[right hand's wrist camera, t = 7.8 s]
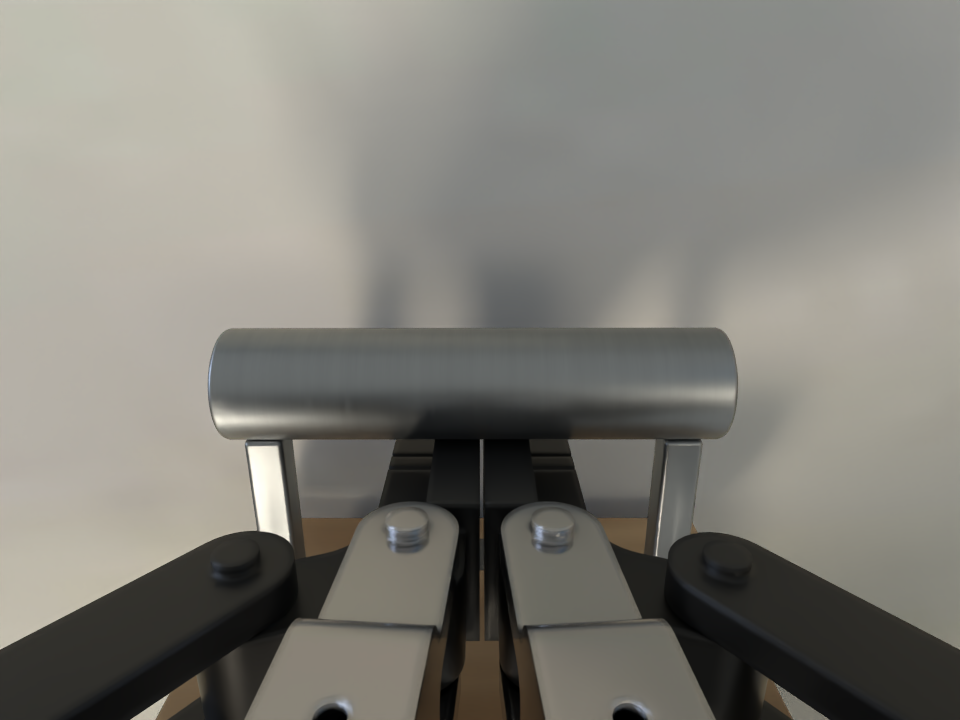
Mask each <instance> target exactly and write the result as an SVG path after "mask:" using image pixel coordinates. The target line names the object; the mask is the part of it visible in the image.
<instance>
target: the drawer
mask: <svg viewBox="0 0 960 720" xmlns="http://www.w3.org/2000/svg"><path fill="white" fill-rule="evenodd" d="M737 396H738V374H737V366H736V359H735V355H734V351H733V348H732V345H731V342H730V340H729V338H728V336H727V335H726V334H725V333H724V332H723V331H722V330H720V329H718V328H231V329H228V330H226V331H224V332H223V333H222V334H221V335H220V336H219V338H218V339H217V341H216V343H215V346H214V348H213V351H212V355H211V359H210V365H209V373H208V399H209V407H210V412H211V416H212V420H213V422H214V425H215V427H216V429H217V431H218V432H219V433H220V434H221V435H222V436H223V437H225V438H227V439H230V440H246V443H245V448H246V455H247V462H248V469H249V476H250V483H251V490H252V497H253V504H254V510H255V517H256V524H257V531H263V532H270V533H274V534H277V535H279V536H281V537H283V538H285V539H286V540H287V541H289V543H290V544H291V545H292V547H293V549H294V554H295V559H300V558H305V557H310V556H315V555H319V554H324V553H328V552H332V551H335V550H338V549H341V548H343V547H346V546H348V545H349V544H350V542H351V540H352V537H353V535H354V533H355V530H356V528H357V526H358V524H359V523H360V521H361V520H362V519H363V518H301V510H300V501H299V493H298V484H297V476H296V467H295V458H294V450H293V441H292V439H656V442H655V451H654V461H653V470H652V480H651V490H650V499H649V509H648V518H597V519H598V520H599V521H600V523H601V524H602V526H603V528H604V530H605V533H606V535H607V537H608V540H609V541H610V542H612V543H613V544H615V545H618V546H620V547H622V548H625V549H627V550H630V551H634V552H638V553H642V554H647V555H651V556H656V557H661V558H666V559H668V552H669V550H670V547H671V546H672V545H673V543H674V542H676V541H677V540H678V539H680V538H682V537H684V536H687V535H690V534H695V533H697V531H696V529H695V527H694V525H693V523H692V520H693V513H694V505H695V497H696V490H697V482H698V475H699V467H700V460H701V452H702V445H703V444H702V441H701V439H719V438H721V437H723V436H725V435H726V434H727V432H728V431H729V429H730V427H731V425H732V422H733V419H734V416H735V411H736V405H737ZM199 697H200V691H199V686H198V681H197V676H194V677H193V678H191V679H190V680H188V681H187V682H185V683H184V684H182V685H181V686H179V687H178V688H176V689H175V690H173V691H172V692H171V693H170V694H169V695H168V697H167V699H166V701H165V703H164V705H163V707H162V709H161V710H160V712H159V714H158V716H157V718H156V720H168V719H169V718H170V717H172V716H173V715H175V714H176V713H178V712H179V711H180V710H182V709H183V708H185V707H186V706H188V705H189V704H190V703H192V702H193V701H195V700H196V699H198V698H199ZM764 700H765V701H767V702H768V703H770V704H771V705H772V706H774V707H775V708H777V709H778V710H780V711H781V712H782V713H784V714H785V715H787V716H788V717H790V718H791V719H792V717H791V715H790V713H789V711H788V709H787V707H786V705H785V703H784V701H783V699H782V697H781V695H780V693H779V691H778V689H777V687H776V685H775V684H774V682H773V681H772V680H770V679H769V678H768V682H767V687H766V692H765V697H764ZM457 720H503V718H502V710H501V702H500V694H499V641H485V634H484V522H483V518H480V641H466V654H465V664H464V667H463V669H462V671H461V693H460V701H459V709H458V717H457ZM792 720H793V719H792Z"/></svg>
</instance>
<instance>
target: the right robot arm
mask: <svg viewBox="0 0 960 720" xmlns="http://www.w3.org/2000/svg"><path fill="white" fill-rule="evenodd" d="M483 522H484V634H485V641H499V694H500V702H501V710H502V718H503V720H792V719H791V718H790V717H788V716H787V715H785V714H784V713H782V712H781V711H780V710H778V709H777V708H775V707H774V706H772V705H771V704H770V703H768V702H767V701H765V700H764V697H765V692H766V687H767V682H768V678H769V679H770V680H772V681H773V682H775V683H776V684H778V685H779V686H781V687H782V688H784V689H785V690H787V691H788V692H790V693H791V694H792V695H794V696H795V697H797V698H798V699H800V700H801V701H803V702H804V703H806V704H807V705H809V706H810V707H812V708H813V709H815V710H816V711H818V712H819V713H821V714H822V715H824V716H825V717H827V718H828V719H830V720H960V650H959V649H957V648H955V647H953V646H951V645H950V644H948V643H946V642H944V641H942V640H940V639H938V638H936V637H934V636H932V635H930V634H928V633H926V632H924V631H923V630H921V629H919V628H917V627H915V626H913V625H911V624H909V623H907V622H905V621H903V620H901V619H899V618H897V617H896V616H894V615H892V614H890V613H888V612H886V611H884V610H882V609H880V608H878V607H876V606H874V605H872V604H870V603H869V602H867V601H865V600H863V599H861V598H859V597H857V596H855V595H853V594H851V593H849V592H847V591H845V590H843V589H842V588H840V587H838V586H836V585H834V584H832V583H830V582H828V581H826V580H824V579H822V578H820V577H818V576H816V575H815V574H813V573H811V572H809V571H807V570H805V569H803V568H801V567H799V566H797V565H795V564H793V563H791V562H789V561H788V560H786V559H784V558H782V557H780V556H778V555H776V554H774V553H772V552H770V551H768V550H766V549H764V548H762V547H761V546H759V545H757V544H755V543H752V542H750V541H748V540H745V539H742V538H740V537H736V536H732V535H728V534H722V533H713V532H703V533H695V534H690V535H687V536H684V537H682V538H680V539H678V540H677V541H676V542H674V543H673V545H672V546H671V547H670V550H669V552H668V559H666V558H661V557H656V556H651V555H647V554H642V553H638V552H634V551H630V550H627V549H625V548H622V547H620V546H618V545H615V544H613V543H612V542H610V541H609V540H608V537H607V535H606V533H605V530H604V528H603V526H602V524H601V523H600V521H599V520H598V519H597V518H596V517H595V516H593V515H592V514H591V513H589V512H588V511H586V507H585V503H584V499H583V496H582V492H581V488H580V485H579V481H578V477H577V474H576V470H575V466H574V463H573V459H572V457H571V451H570V448H569V444H568V440H567V439H483ZM466 641H480V439H396V442H395V446H394V450H393V457H392V458H391V462H390V465H389V470H388V473H387V477H386V481H385V485H384V489H383V493H382V496H381V500H380V504H379V508H378V509H376V510H374V511H372V512H371V513H369V514H368V515H367V516H365V517H364V518H363V519H362V520H361V521H360V523H359V524H358V526H357V528H356V530H355V533H354V535H353V537H352V540H351V542H350V544H349V545H348V546H346V547H343V548H341V549H338V550H335V551H332V552H328V553H324V554H319V555H315V556H310V557H305V558H300V559H295V554H294V549H293V547H292V545H291V544H290V543H289V541H287V540H286V539H285V538H283V537H281V536H279V535H277V534H274V533H270V532H263V531H245V532H238V533H233V534H229V535H225V536H222V537H219V538H216V539H214V540H212V541H210V542H207V543H205V544H203V545H201V546H199V547H198V548H196V549H194V550H192V551H190V552H188V553H186V554H184V555H182V556H180V557H178V558H176V559H174V560H172V561H171V562H169V563H167V564H165V565H163V566H161V567H159V568H157V569H155V570H153V571H151V572H149V573H147V574H145V575H144V576H142V577H140V578H138V579H136V580H134V581H132V582H130V583H128V584H126V585H124V586H122V587H120V588H118V589H117V590H115V591H113V592H111V593H109V594H107V595H105V596H103V597H101V598H99V599H97V600H95V601H93V602H91V603H90V604H88V605H86V606H84V607H82V608H80V609H78V610H76V611H74V612H72V613H70V614H68V615H66V616H64V617H63V618H61V619H59V620H57V621H55V622H53V623H51V624H49V625H47V626H45V627H43V628H41V629H39V630H37V631H36V632H34V633H32V634H30V635H28V636H26V637H24V638H22V639H20V640H18V641H16V642H14V643H12V644H10V645H9V646H7V647H5V648H3V649H1V650H0V720H130V719H132V718H133V717H135V716H136V715H138V714H139V713H141V712H142V711H144V710H145V709H147V708H148V707H150V706H151V705H153V704H154V703H156V702H157V701H159V700H160V699H162V698H163V697H165V696H166V695H168V694H169V693H171V692H172V691H173V690H175V689H176V688H178V687H179V686H181V685H182V684H184V683H185V682H187V681H188V680H190V679H191V678H193V677H194V676H197V681H198V686H199V691H200V697H199V698H198V699H196V700H195V701H193V702H192V703H190V704H189V705H188V706H186V707H185V708H183V709H182V710H180V711H179V712H178V713H176V714H175V715H173V716H172V717H170V718H169V719H168V720H457V717H458V709H459V701H460V693H461V671H462V669H463V667H464V664H465V654H466Z"/></svg>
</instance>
